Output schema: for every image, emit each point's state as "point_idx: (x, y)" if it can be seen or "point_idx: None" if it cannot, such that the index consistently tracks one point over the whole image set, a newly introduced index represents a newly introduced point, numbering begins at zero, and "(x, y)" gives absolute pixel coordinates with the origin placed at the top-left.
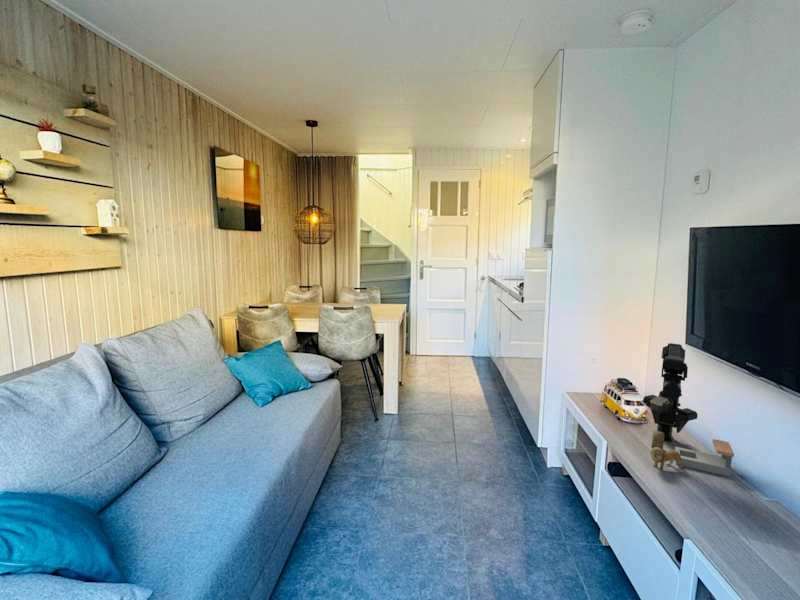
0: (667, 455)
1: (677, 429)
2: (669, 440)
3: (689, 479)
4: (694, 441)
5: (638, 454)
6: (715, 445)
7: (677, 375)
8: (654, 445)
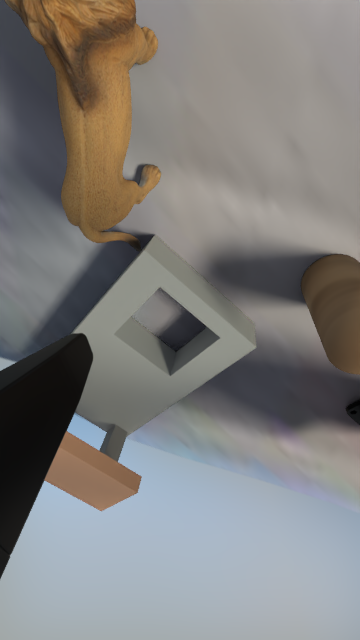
0: (59, 103)
1: (42, 353)
2: (358, 403)
3: (2, 164)
4: (304, 469)
5: (335, 63)
6: (61, 449)
7: None
8: (341, 266)
